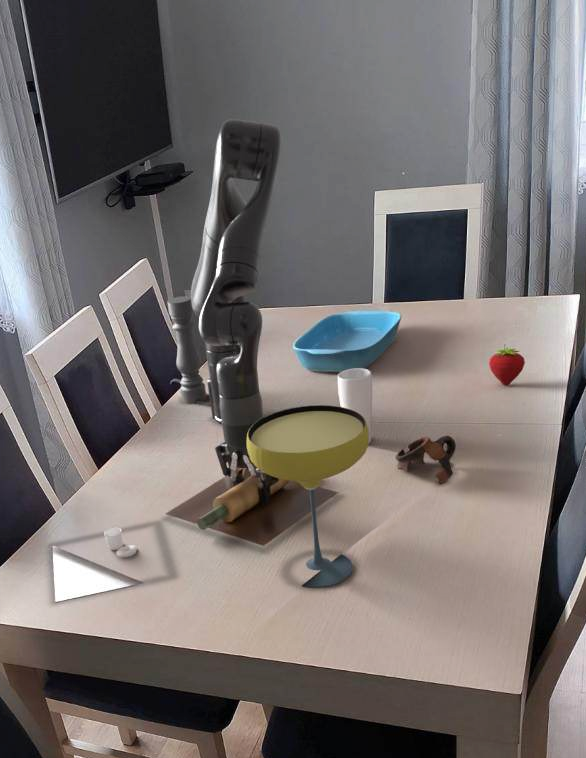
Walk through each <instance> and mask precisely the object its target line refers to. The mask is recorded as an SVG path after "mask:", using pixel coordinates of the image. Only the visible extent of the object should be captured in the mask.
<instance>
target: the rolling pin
mask: <svg viewBox="0 0 586 758" xmlns="http://www.w3.org/2000/svg"><path fill="white" fill-rule="evenodd" d="M261 478H262V480H263V479H264V478H263V476H262V474H261ZM288 482H289V480H283V479H279V481H278V482H277V483H275V484H273V485H272V486H270V491H271V495H272V494H273V493H275V492H276V491H278V490H279V489H281V488H282V487H284V486H285V485H287V484H288ZM258 503H260V502H259V494H258V485H257V482H256V480H255V478H254V477H252V476H250V477H249V478H247V479H246V480H244V481H243V482H241V483H239V484H238V485H236V486H235V487H233V488H231V489H230V490H228V491H227V492H225V493H224V494H222V495H220V496H219V497H217V498H216V499H215V500H214V509H213V510H212V511H210V512H208V513H207V514H205V515H204V516H202V517H201V518H199V519H198V520H197V524H196V525H197V527H198V528H199V529H200V530H202V531H205V530H207V529H209V528H208V527H210V526H211V525H213V524H214V523H216V522H217V521H219V520H220V519H221V520H223V521H225V522H231V521H233V520H234V519H236V518H237V517H239V516H240V515H242V514H243V513H245V512H246V511H248V510H249V509H251V508H252V507H254V506H255V505H257V504H258Z"/></svg>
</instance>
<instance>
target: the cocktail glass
mask: <svg viewBox="0 0 586 758" xmlns="http://www.w3.org/2000/svg"><path fill="white" fill-rule="evenodd" d="M369 444H370V443H369V432H368V426H367V423H366V421H365V419H364V417H363V416H362V415H360V414H359V413H357V412H355V411H353V410H351V409H347V408H343V407H340V406H337V405H326V404H325V405H323V404H321V405H320V404H319V405H317V404H316V405H315V404H314V405H302V406H297V407H289V408H286V409H283V410H277V411H275V412H274V413H273V412H272V413H270V414H268V415H266V416H264V417H263V418H262V419H260V420H258V421H257V422H256V423H254V424H253V425H252V426H251V428H250V429H249V431H248V433H247V450H248V454H249V457H250V460H251V461H252V463H253V464H254V465H255V466H256V467H257V470H259V469H260V470H261V471H263V472H264V473H266V474H268V475H270V476H273V477H276V478H279V479H283V480H289V481H296V482H299V483H300V484H301V485H302V486H303V487H304V488H306V489H308V490H310V498H311V509H312V511H311V518H312V519H311V520H312V532H313V533H312V534H313V548H314V549H313V558H310V559H309V560H307V562H306V563H305V566H306V568H308V569H309V570H312V571H318V572H317V573H316V574H314V575H313V576H312V577H310V578H309V579H307V581H305V582H304V583H302V584H301V587H305V588H312V589H315V588H316V589H320V588H328V587H331V586H335V585H337V584H338V585H339V584H340V583H342V582H344V581H345V580H346V579H348V578H349V576H350V575H351V574H352V572H353V568H354V567H353V563H352V561H351V559H350V558H349V557H347V556H346V555H345V554H340V555H338V556H337V557H336V558H334V559H333V560H332V561H331V560H330V559H329V558H327V557H323V555H322V551H321V547H320V540H319V539H320V538H319V531H318V530H319V529H318V522H317V511H316V509H315V499H314V489H316V488H317V487H320V485H321V483H322V482H323V481H324V480H325V479H329V478H332V477H334V476H337V475H339V474H341V473H344V472H345V471H347V470H348V469H350V468H351V467H353V466H354V465H356V464H357V463H358V462H359V461H360V460H361V459H362V458H363V456H365V454H366V452H367V450H368V448H369Z"/></svg>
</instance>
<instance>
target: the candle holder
mask: <svg viewBox="0 0 586 758" xmlns="http://www.w3.org/2000/svg"><path fill="white" fill-rule="evenodd" d="M167 308H168V314H169V316H170V318H171V320H172V322H173V324H172V330H173V331H175V335H176V340H177V341H176V342H177V349H176V350H177V351H176V361H175V362H176V363H175V365H176V368H177V369H178V371H179V372H180V373H181V376H182V377H181V379H180V380H181V382H180V383H179V384H180V385H181V386H180V388H179V389H180V390H179V391H180V396H181V401H182V403H184V404H188V405H189V404H191V405H192V404H197V403H196V402H195V401H196V400H200V401H203V402H204V401H205V400H206V399H207V397H208V395H207V391H206V384H205V383H204V378H203V377H202V376H201V374H200V369H201V366H202V359H201V356H200V354H199V351H198V348H197V346H196V344H195V341H194V334H193V328H194V327H195V323H194V322H193V321H191V319H192V316H193V313H194V311H193V308H192V304H191V296H187V295H185V296H184V295H183V296H176V297H173V298H170V299H168V300H167Z"/></svg>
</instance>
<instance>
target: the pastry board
mask: <svg viewBox="0 0 586 758" xmlns="http://www.w3.org/2000/svg"><path fill="white" fill-rule="evenodd" d="M250 476H251V473H250V471H249V470H248V469H246V468H245V470H244V475H243V476H242V477H245V480H246V479H247V478H249V477H250ZM233 487H234V485H233V481H232V480H231V478H230V477H229V476H224V477H222V478H221V479H219V480H217V481H216V482H214V483H212V484H211V485H209V486H208V487H206V488H204V489H202V490H201V491H200V492H198V493H196V494H195V495H193V496H191V497H190V498H188V499H187V500H185V501H183V502H181V503H180V504H179V505H177V506H175V507H174V508H172V509H170V510H168V511H167V512H165V515H167V516H170V517H173V518H176V519H179V520H183V521H185V522H189V523H191V524H195V525H197V520H198V519H199V518H201V517H202V516H204V515H205V514H207V513H208V512H210V511H212V510H213V509H214V500H215V499H216V498H217V497H219V496H220V495H222V494H224V493H225V492H227V491H228V490H230V489H231V488H233ZM338 493H339V491H335V490H332V489H329V488H328V489H327V488H325V487H320V486H318V487H317V488H316V489H314V499H315V510H316V509H317V508H319V507H320V506H321V505H323V504H324V503H326V502H327V501H329V500H330V499H331V498H333V497H334V496H335V495H336V494H338ZM310 513H312V509H311V498H310V490H308V489H306V488H304V487H303V486H302V485H301V484H300V483H299V482H296V481H289V482H288V484H287V485H285V486H284V487H282V488H281V489H279V490H278V491H276V492H275V493H273V494H272V495H271V500H270V502H269V503H267V504H266V505H264V506H263V505H260V503H258V504H257V505H255V506H254V507H252V508H251V509H249V510H248V511H246V512H245V513H243V514H242V515H240V516H239V517H237V518H236V519H234V520H233V521H231V522H225V521H223V520H221V519H220V520H219V521H217V522H216V523H214V524H213V525H211V526H210V527H208V528H207V529H210V530H213V531H215V532H219V533H220V532H221V533H223V534H225V535H229V536H232V537H235V538H238V539H241V540H245V541H248V542H250V543H253V544H256V545H259V546H262V547H264V546H266V545H267V544H268V543H270V542H271V541H272V540H274V539H275V538H277V537H278V536H280V535H281V534H282V533H284V532H285V531H286V530H288V529H289V528H291V527H292V526H293V525H295V524H296V523H298V522H299V521H300V520H302V519H303V518H304V517H306V516H308V515H309V514H310Z"/></svg>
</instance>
